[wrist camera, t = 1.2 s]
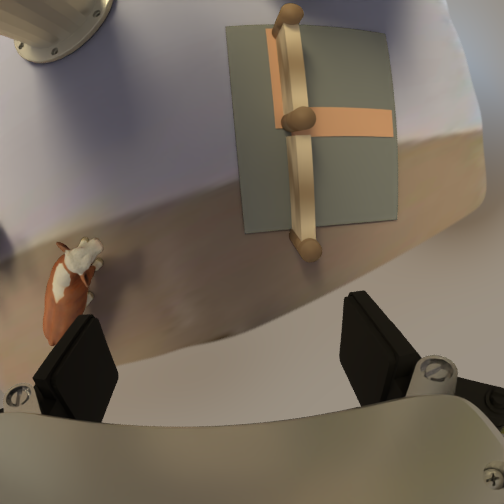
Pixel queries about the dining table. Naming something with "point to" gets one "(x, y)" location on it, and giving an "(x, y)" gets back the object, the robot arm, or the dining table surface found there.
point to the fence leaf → (302, 197)
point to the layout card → (316, 126)
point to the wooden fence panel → (292, 70)
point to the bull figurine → (70, 287)
